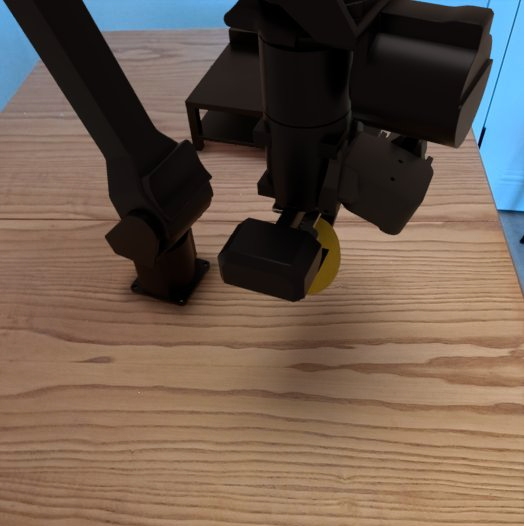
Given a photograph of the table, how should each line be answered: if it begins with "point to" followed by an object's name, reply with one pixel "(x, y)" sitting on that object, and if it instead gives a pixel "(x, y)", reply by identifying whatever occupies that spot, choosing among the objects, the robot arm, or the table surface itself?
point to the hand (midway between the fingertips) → (306, 275)
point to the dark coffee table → (229, 95)
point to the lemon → (332, 259)
